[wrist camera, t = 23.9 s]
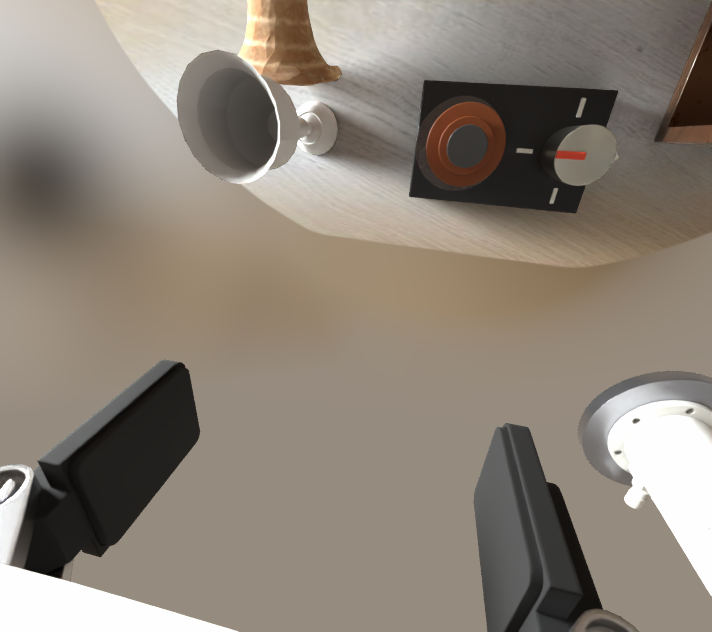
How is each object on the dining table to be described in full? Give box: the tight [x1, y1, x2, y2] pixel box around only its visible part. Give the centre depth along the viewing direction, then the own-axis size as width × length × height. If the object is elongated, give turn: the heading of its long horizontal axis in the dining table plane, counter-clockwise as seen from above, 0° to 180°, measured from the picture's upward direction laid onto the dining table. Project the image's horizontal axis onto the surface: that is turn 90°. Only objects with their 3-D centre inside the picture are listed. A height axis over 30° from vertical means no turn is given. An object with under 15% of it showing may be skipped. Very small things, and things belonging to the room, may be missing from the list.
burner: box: [415, 95, 500, 191], centre depth 33 cm, size 8×8×1 cm
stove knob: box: [540, 125, 617, 186], centre depth 30 cm, size 4×4×5 cm
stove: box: [409, 80, 619, 213], centre depth 34 cm, size 10×18×3 cm, turn 86°
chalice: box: [177, 50, 338, 184], centre depth 30 cm, size 7×7×18 cm
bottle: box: [426, 102, 506, 187], centre depth 28 cm, size 6×6×10 cm
